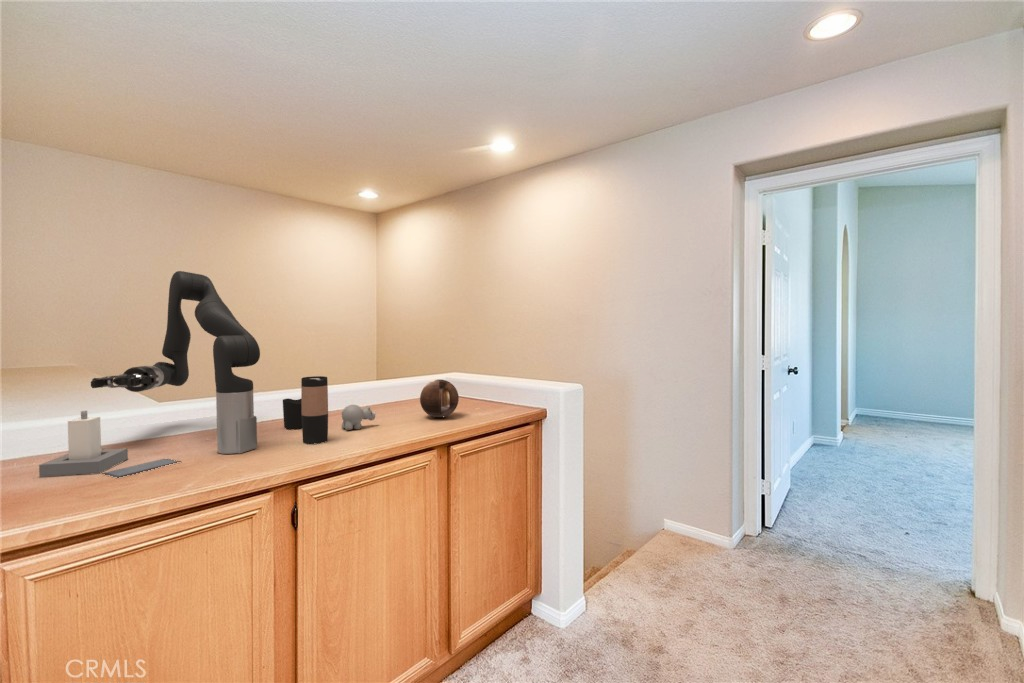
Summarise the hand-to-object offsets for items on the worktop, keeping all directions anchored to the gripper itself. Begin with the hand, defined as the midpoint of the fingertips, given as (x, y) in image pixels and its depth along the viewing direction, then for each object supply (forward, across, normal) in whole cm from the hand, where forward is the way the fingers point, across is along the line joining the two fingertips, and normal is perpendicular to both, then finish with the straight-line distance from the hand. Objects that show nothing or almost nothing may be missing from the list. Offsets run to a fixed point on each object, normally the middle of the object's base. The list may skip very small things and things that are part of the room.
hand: (111, 383), depth 126 cm
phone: (+14, +14, +21) cm, 29 cm away
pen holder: (-28, +41, +20) cm, 54 cm away
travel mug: (-5, +51, +21) cm, 55 cm away
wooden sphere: (-33, +92, +21) cm, 100 cm away
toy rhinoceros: (-21, +63, +21) cm, 70 cm away
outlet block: (+10, -1, +20) cm, 23 cm away
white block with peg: (+10, -1, +20) cm, 23 cm away
